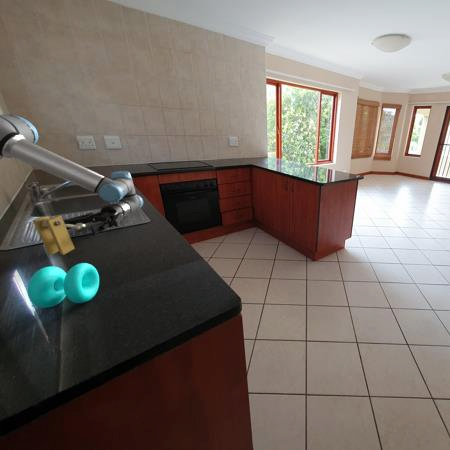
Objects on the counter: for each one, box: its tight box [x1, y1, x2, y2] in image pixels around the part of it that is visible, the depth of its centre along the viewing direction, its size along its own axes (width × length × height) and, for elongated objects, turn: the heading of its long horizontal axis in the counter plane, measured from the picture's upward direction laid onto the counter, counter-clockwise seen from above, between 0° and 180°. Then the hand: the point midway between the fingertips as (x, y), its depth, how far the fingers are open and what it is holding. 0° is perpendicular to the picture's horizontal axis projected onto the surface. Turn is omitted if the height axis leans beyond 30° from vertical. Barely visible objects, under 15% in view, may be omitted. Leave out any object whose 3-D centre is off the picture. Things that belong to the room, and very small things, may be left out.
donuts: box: [27, 262, 100, 309], centre depth 59 cm, size 10×10×10 cm
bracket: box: [32, 215, 75, 256], centre depth 79 cm, size 10×8×14 cm
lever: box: [41, 219, 87, 233], centre depth 83 cm, size 14×3×3 cm, turn 0°
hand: (73, 231), depth 86 cm, fingers open, 13 cm apart
